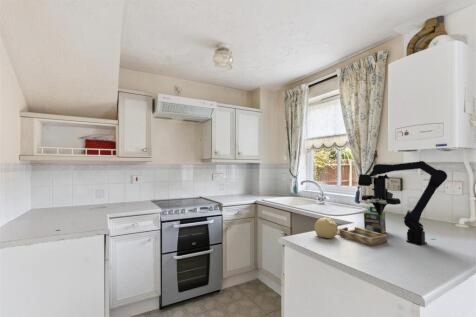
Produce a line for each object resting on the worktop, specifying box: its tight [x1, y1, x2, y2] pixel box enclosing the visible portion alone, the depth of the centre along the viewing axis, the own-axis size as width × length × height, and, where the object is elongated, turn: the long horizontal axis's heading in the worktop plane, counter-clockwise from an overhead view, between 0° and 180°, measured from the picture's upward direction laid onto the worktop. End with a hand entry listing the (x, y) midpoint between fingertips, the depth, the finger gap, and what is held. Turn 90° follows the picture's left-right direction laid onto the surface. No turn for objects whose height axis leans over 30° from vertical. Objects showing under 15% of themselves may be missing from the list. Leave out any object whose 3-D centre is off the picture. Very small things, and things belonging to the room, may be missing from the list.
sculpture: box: [314, 216, 339, 239], centre depth 131 cm, size 12×12×11 cm
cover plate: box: [336, 227, 349, 236], centre depth 141 cm, size 15×10×4 cm, turn 38°
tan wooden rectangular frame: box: [339, 226, 388, 247], centre depth 126 cm, size 18×13×4 cm
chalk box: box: [363, 206, 387, 234], centre depth 140 cm, size 9×9×15 cm
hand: (380, 215), depth 130 cm, fingers closed
